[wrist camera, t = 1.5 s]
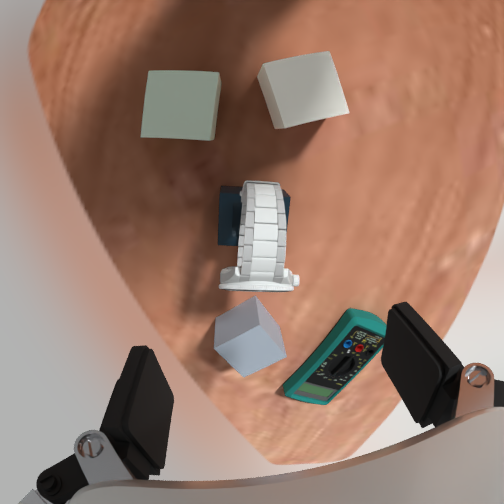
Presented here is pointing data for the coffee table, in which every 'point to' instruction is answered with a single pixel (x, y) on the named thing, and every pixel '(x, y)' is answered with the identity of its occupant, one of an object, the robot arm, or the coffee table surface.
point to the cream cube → (302, 89)
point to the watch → (255, 237)
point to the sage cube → (181, 104)
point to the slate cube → (248, 337)
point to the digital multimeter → (338, 358)
